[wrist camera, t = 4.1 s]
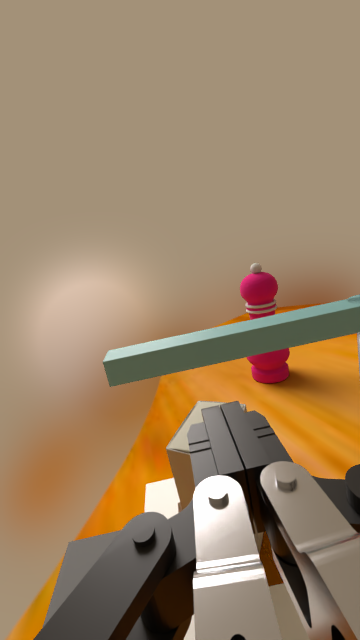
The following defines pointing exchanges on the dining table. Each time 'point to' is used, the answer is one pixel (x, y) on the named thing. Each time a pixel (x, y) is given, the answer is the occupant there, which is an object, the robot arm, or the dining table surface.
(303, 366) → the dining table surface
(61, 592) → the coaster
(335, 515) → the robot arm
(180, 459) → the skincare box
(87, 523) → the dining table surface
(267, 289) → the pepper mill
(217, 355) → the swing bar
